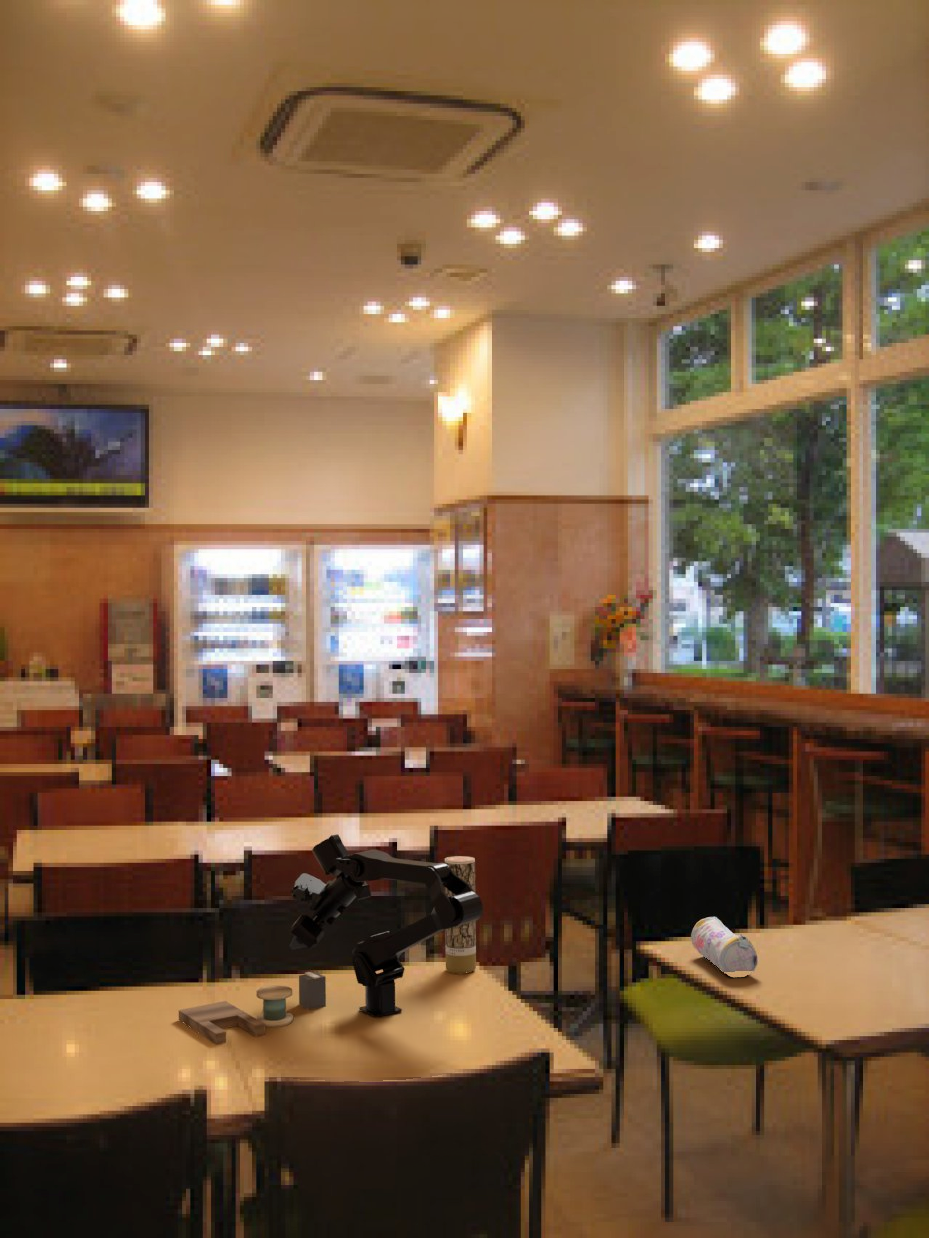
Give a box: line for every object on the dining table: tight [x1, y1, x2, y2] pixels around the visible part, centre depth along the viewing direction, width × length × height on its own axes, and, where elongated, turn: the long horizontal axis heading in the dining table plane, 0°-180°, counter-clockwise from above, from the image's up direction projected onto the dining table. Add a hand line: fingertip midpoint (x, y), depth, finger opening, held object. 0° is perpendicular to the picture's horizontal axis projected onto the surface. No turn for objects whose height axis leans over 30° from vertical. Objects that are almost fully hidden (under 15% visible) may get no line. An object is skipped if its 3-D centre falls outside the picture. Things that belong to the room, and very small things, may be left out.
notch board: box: [178, 1000, 266, 1045], centre depth 248 cm, size 18×10×2 cm, turn 35°
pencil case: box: [690, 916, 759, 972], centre depth 287 cm, size 21×9×10 cm, turn 9°
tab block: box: [298, 971, 327, 1010], centre depth 261 cm, size 4×4×6 cm
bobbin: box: [255, 985, 294, 1028], centre depth 251 cm, size 7×7×6 cm
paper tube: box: [444, 855, 477, 974], centre depth 286 cm, size 7×7×25 cm
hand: (301, 935), depth 270 cm, fingers open, 9 cm apart
